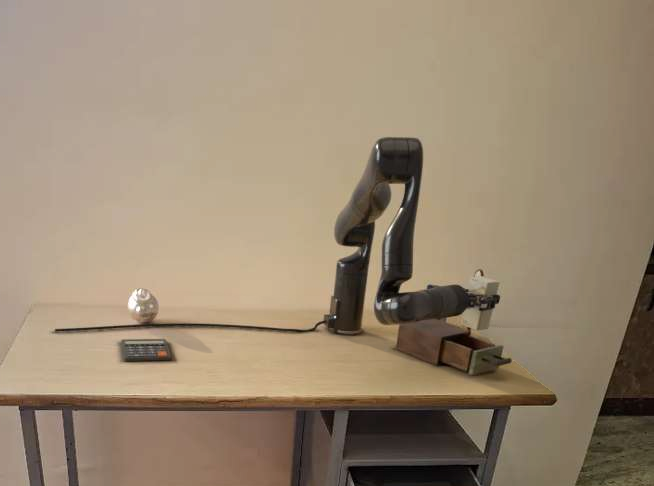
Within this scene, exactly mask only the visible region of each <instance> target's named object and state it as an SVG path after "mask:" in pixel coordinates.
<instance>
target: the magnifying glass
mask: <svg viewBox="0 0 654 486" xmlns="http://www.w3.org/2000/svg"><path fill="white" fill-rule="evenodd" d="M477 276H484V277H485V274H484V271H483V269H481V268H479V269H476V271H475V272H474V275H473V277H477ZM466 329H467V330H470V331H471V332H472V328H469V327H467V326H466Z"/></svg>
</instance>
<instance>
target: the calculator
mask: <svg viewBox="0 0 654 486" xmlns="http://www.w3.org/2000/svg"><path fill="white" fill-rule="evenodd" d="M120 342H121V349H122V355H123V361H124V362H138V361H139V362H141V361H142V362H143V361H145V362H146V361H171V360H172V356H171V352H170V349H169V346H168V343H167V339H166V338H131V339H128V338H127V339H126V338H125V339H121V340H120Z"/></svg>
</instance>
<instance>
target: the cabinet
mask: <svg viewBox="0 0 654 486" xmlns="http://www.w3.org/2000/svg"><path fill="white" fill-rule="evenodd" d="M464 334H467V335H470V336H472V330H471V331H470V330H467V328H463V327H461V326H458V325H454V324H452V323H449V322H447V321H446V322H443V321H440V320H437V319H429V320H422V321H419V322H415V323H411V324H402V325H398V332H397V337H396V338H397V339H396V344H395V350H397V351H399V352H401V353H404V354H407V355H409V356H412V357H415V358H417V359H420V360H422V361H424V362H427V363H430V364H433V365H434V366H440V365H443V364H445V363H444V362H441V361H439V357H440V352H441V346H442V341H443V339H445V338H450V337H455V336H460V335H464Z"/></svg>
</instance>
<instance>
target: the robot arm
mask: <svg viewBox="0 0 654 486" xmlns="http://www.w3.org/2000/svg"><path fill="white" fill-rule="evenodd" d="M423 167H424V147H423V143H422V141H421V139H419V138H418V137H412V136H411V137H410V136H409V137H407V136H405V137H403V136H385V137H380V138H378V139H377V140H376V141H375V143H374V144H373V146H372V148H371V150H370V154H369V156H368V160H367V162H366V165H365V168H364V171H363V173H362V174H361V176H360V178H359V181H358V183H357V184H356V186H355V187H354V189H353V191H352V194H351V195H350V199H349V200H348V201H347V203H346V205H345V206H344V207H343V208H342V210H341V211H340V212H339V214H338V215H337V218H336V220H335V223H334V227H333V236H334V240H335V242H336V243H337V244H338V245H339V246H341V247H348V248H357V250H356V251H354V252H353V253H352V254H349V255H347V256H345V257H341V258H338V260H337V262H336V267H335V277H334V286H333V295H331V296H330V305H329V314H323V320H321V321H319V322H317V323H315V325H314V327H312V328H309V329H297V328H280V327H270V326H267V327H266V326H258V325H257V326H256V325H240V324H223V323H222V324H221V323H195V322H193V323H190V322H189V323H188V322H186V323H185V322H184V323H183V322H182V323H181V322H180V323H179V322H178V323H173V322H172V323H171V322H170V323H141V324H140V323H139V324H122V325H104V326H91V327H69V328H54V332H55V333H58V332H78V331H95V330H96V331H97V330H113V329H114V330H115V329H129V328H149V327H213V328H214V327H215V328H216V327H217V328H219V327H220V328H233V329H234V328H236V329H237V328H238V329H254V330H264V331H265V330H266V331H278V332H296V333H305V332H306V333H307V332H314V331H315V330H317V328H318V327H319V326H320V325H322V324H323V325H324V326H325V327H326V328H327V329H329V330H330V331H331V332H332V333H333V334H339V335H347V336H350V335H358V334H361V333H362V330H363V329H362V327H363V318H364V309H365V300H366V292H367V285H368V277H369V268H370V263H371V255H372V250H373V249H372V248H373V244H374V243H373V242H374V238H375V237H374V236H375V232H376V231H375V230H376V221H377V220H378V219H380V218H381V217H382V216H383V215H384V213H385V212H386V210H387V209H388V207H389V205H390V203H391V199H392V188H391V185H393V184H394V185H404V192H403V193H404V194H403V197H402V201H401V204H400V206H399V209H398V211H397V212H396V214H395V216H394V218H393V219H392V221H391V223H390V225H389V226H388V228H387V230H385V234H384V237H383V239H382V244H381V274H380V278H379V281H378V285H377V288H376V289H377V290H376V293H375V297H374V303H373V312H374V316H375V318H376V320H377V322H378V323H379V324H381V325H383V326H399V325H402V324H411V323H415V322H419V321H422V320H429V319H442V318H446V319H447V318H453V317H459V316H462V315H463V312H464V311H465V310H466V309H471V308H479V311H486V310H490V309H493V310H494V309H495V308H496V305H498V304H500V299H501V295H500V294H497V295H489V296H486V295H483V294H482V293H472V292H468V289H469V288H466V287H463V286H462V285H460V284H455V283H454V284H447V285H438V286H439V287H434V288H431V289H427V288H425V289H419V290H416V291H404V292H400V289H401V286H402V285H403V284H405V283H406V282H408V281H409V280H410V281H411V279H412V277H413V273H414V240H415V239H414V238H415V229H416V220H417V215H418V207H419V201H420V193H421V185H422V179H423V178H422V177H423V169H424V168H423ZM477 296H479V300H478V302H477Z"/></svg>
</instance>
